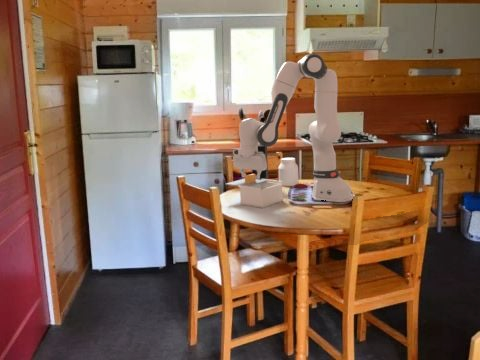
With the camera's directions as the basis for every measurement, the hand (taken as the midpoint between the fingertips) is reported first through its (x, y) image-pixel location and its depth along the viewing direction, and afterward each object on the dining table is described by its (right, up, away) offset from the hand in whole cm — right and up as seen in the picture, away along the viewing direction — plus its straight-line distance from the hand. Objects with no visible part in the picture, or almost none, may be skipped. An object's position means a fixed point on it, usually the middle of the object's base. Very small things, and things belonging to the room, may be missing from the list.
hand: (250, 177), depth 242 cm
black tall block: (+7, -6, +30) cm, 32 cm away
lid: (-2, -3, +3) cm, 4 cm away
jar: (+23, -4, +38) cm, 44 cm away
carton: (+6, -13, -2) cm, 14 cm away
